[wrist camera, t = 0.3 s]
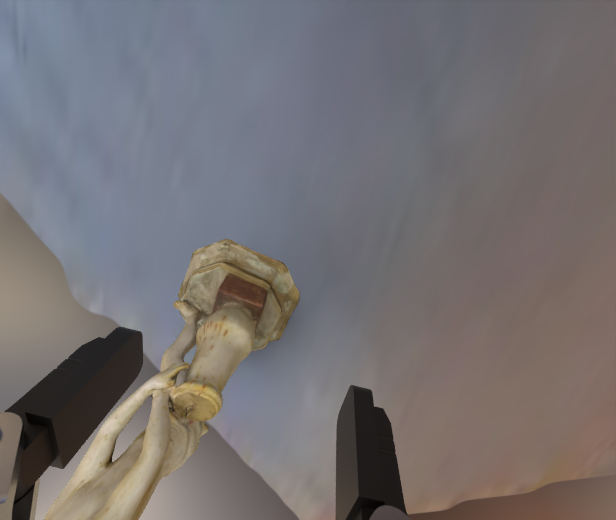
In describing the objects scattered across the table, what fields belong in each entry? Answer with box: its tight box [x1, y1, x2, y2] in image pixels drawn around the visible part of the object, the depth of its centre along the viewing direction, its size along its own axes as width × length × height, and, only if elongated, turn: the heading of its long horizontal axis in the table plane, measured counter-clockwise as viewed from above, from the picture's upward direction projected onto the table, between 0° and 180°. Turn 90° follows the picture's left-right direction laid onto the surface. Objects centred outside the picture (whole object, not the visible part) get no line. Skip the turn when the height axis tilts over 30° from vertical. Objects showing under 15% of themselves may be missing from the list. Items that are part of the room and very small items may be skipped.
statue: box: [44, 239, 299, 520], centre depth 29 cm, size 17×17×35 cm
